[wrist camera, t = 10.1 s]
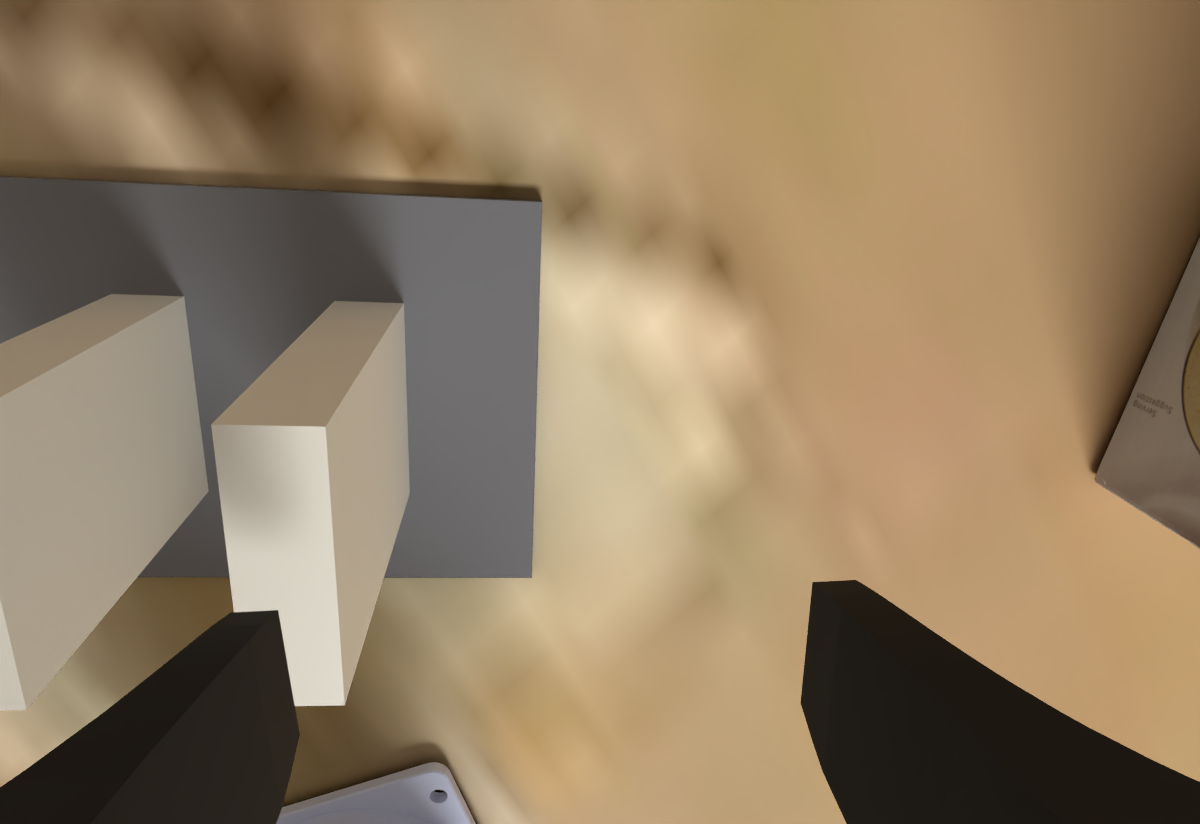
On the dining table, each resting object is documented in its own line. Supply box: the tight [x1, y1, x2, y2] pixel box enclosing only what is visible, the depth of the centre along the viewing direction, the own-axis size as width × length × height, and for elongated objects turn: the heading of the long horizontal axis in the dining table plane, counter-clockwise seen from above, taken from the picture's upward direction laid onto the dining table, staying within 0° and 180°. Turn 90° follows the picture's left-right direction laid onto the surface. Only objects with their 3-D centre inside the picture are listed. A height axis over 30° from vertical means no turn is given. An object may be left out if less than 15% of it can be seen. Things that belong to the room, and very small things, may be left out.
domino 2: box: [211, 301, 410, 706], centre depth 16 cm, size 2×5×8 cm, turn 177°
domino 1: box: [0, 294, 209, 711], centre depth 16 cm, size 2×5×8 cm, turn 177°
